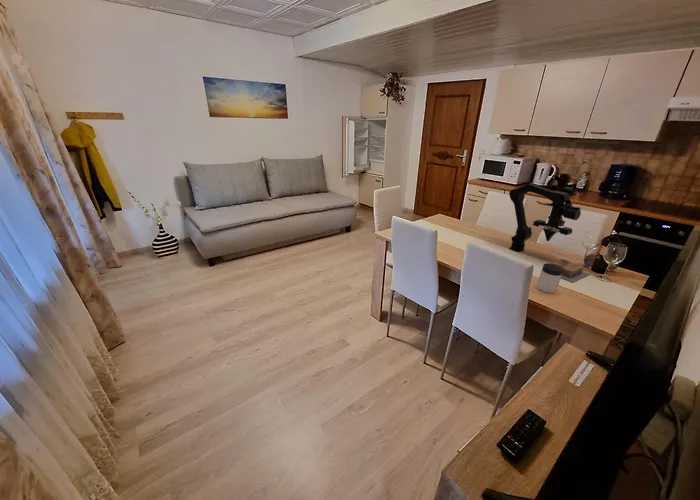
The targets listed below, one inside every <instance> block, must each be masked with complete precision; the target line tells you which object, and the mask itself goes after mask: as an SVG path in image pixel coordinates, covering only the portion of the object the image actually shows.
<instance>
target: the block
mask: <svg viewBox="0 0 700 500" xmlns="http://www.w3.org/2000/svg"><path fill="white" fill-rule="evenodd" d="M551 264H556V265H558V266H560V267H562V268H563V273H562V275H563V276H565V277H568V278H572V277H574V276H577V275H579V274H581V273H582V271H583V272H584V268H585V267H584V266H583V265H580V264H577V263H574V262H572V261H569V260H566V259H563V258H561V259H559V260H556V261H553V262H551Z"/></svg>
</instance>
